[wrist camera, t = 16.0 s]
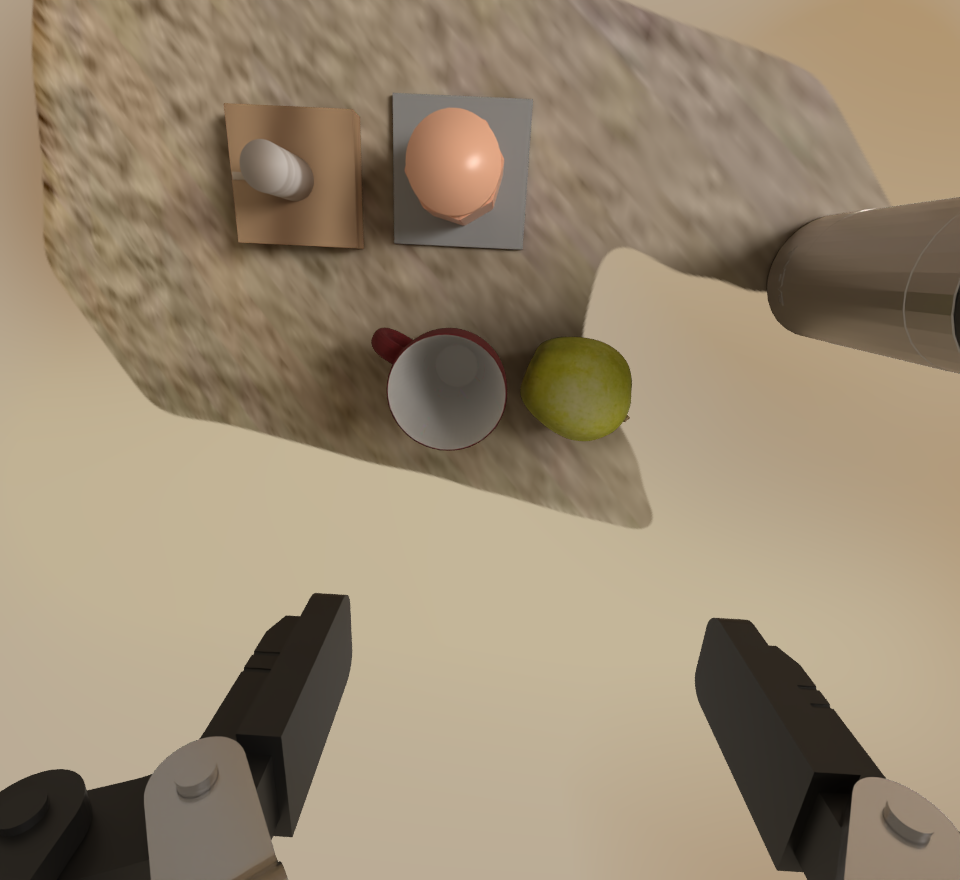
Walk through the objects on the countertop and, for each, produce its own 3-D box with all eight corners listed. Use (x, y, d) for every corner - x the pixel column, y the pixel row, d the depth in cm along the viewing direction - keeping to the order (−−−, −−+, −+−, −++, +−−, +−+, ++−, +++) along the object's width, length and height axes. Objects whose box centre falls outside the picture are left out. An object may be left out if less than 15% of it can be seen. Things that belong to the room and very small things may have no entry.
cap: (513, 197, 38) (517, 185, 32) (444, 237, 39) (435, 233, 33) (474, 112, 36) (470, 82, 30) (403, 157, 37) (385, 136, 31)
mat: (532, 101, 36) (532, 99, 36) (522, 249, 39) (522, 249, 39) (393, 94, 36) (392, 92, 36) (395, 243, 40) (394, 243, 39)
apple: (601, 436, 44) (623, 471, 37) (505, 401, 44) (508, 430, 36) (641, 353, 42) (673, 373, 34) (539, 314, 41) (550, 326, 34)
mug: (369, 379, 43) (335, 412, 34) (400, 289, 41) (371, 297, 31) (483, 424, 44) (480, 468, 35) (519, 338, 42) (527, 361, 32)
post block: (360, 117, 37) (330, 85, 30) (363, 248, 40) (337, 245, 33) (237, 111, 37) (181, 78, 30) (250, 243, 40) (202, 239, 33)
